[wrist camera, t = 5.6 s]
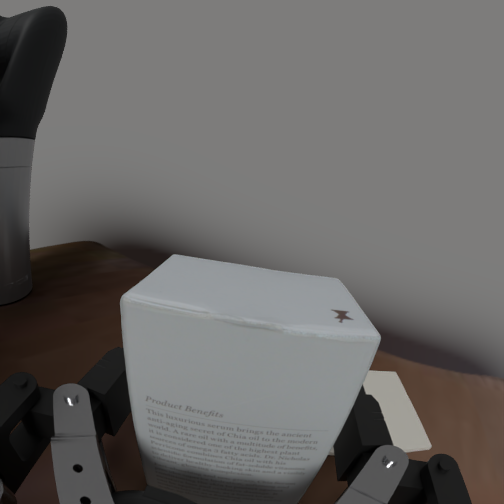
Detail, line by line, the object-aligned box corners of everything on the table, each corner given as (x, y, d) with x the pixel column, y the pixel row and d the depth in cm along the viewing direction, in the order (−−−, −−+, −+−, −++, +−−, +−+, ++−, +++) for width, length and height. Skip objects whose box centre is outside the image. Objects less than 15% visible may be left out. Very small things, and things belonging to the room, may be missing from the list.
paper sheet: (166, 428, 15) (166, 424, 15) (204, 348, 24) (204, 345, 24) (429, 449, 14) (432, 445, 13) (394, 374, 23) (396, 371, 23)
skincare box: (277, 472, 13) (344, 276, 10) (277, 533, 8) (391, 337, 6) (170, 455, 13) (171, 249, 10) (151, 513, 9) (113, 295, 6)
